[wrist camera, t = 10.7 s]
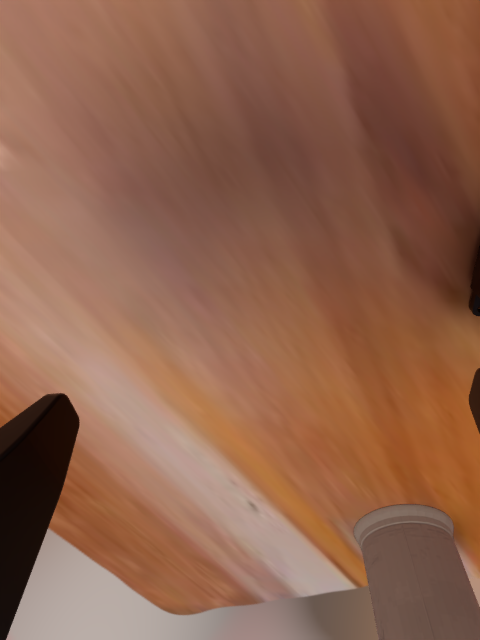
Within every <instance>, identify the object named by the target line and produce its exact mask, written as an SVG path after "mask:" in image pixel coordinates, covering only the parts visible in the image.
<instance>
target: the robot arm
mask: <svg viewBox="0 0 480 640" xmlns="http://www.w3.org/2000/svg"><path fill="white" fill-rule="evenodd" d="M471 289H472V290H473V292H472V296H471V301H470V305H469V309H470V310H471V311H472V313H473V314H474V315H476V316H480V308H479V309H478V307H479V306H480V246H479V250H478V255H477V259H476V264H475V268H474V273H473V278H472V282H471ZM469 405H470V409H471V411H472V414H473V417H474V420H475V422H476V425H477V428H478V431H479V433H480V368H479V369H477V371H476V372H475V375H474V379H473V383H472V387H471V390H470V394H469ZM78 429H79V417H78V414H77V413H76V411H75V409H74V407H73V405H72V403H71V402H70V400H69V398H68V396H67V395H65V394H63V393H56V394H47V395H45V396H43V397H42V398H41V399H39V400H38V401H37V402H35V403H34V404H32V405H31V406H30V407H28V408H27V409H26V410H24V411H23V412H21V413H20V414H19V415H17V416H16V417H15V418H13V419H12V420H10V421H9V422H8V423H6V424H5V425H4V426H2V427H1V428H0V640H6V638H7V635H8V633H9V630H10V627H11V625H12V622H13V619H14V617H15V614H16V612H17V609H18V606H19V604H20V601H21V598H22V595H23V593H24V590H25V587H26V585H27V582H28V579H29V577H30V574H31V572H32V569H33V566H34V564H35V561H36V558H37V555H38V553H39V550H40V548H41V545H42V542H43V540H44V537H45V534H46V532H47V529H48V526H49V524H50V521H51V518H52V516H53V513H54V510H55V508H56V505H57V502H58V500H59V497H60V494H61V491H62V488H63V485H64V482H65V478H66V475H67V471H68V467H69V463H70V460H71V456H72V452H73V448H74V445H75V441H76V437H77V433H78Z"/></svg>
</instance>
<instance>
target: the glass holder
mask: <svg viewBox="0 0 480 640" xmlns="http://www.w3.org/2000/svg"><path fill="white" fill-rule="evenodd" d="M453 532H454V526H453V522H452V520H451V519H450V517H449V516H448V515H447V514H445V513H444V512H442V511H440V510H438V509H435V508H433V507H429V506H424V505H416V504H402V505H393V506H388V507H384V508H380V509H377V510H375V511H372V512H370V513H368V514H367V515H365V516H364V517H362V518H361V519H360V520H359V521H358V522H357V523H356V525H355V527H354V537H355V539H356V541H357V542H358V544H359V545H360V547H361V550H362V553H363V558H364V563H365V569H366V574H367V579H368V584H369V590H370V594H371V600H372V606H373V611H374V616H375V621H376V627H377V632H378V637H379V640H480V607H479V605H478V602H477V599H476V597H475V594H474V592H473V589H472V587H471V584H470V581H469V579H468V576H467V573H466V571H465V568H464V566H463V563H462V560H461V558H460V555H459V553H458V550H457V547H456V545H455V542H454V538H453Z"/></svg>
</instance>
